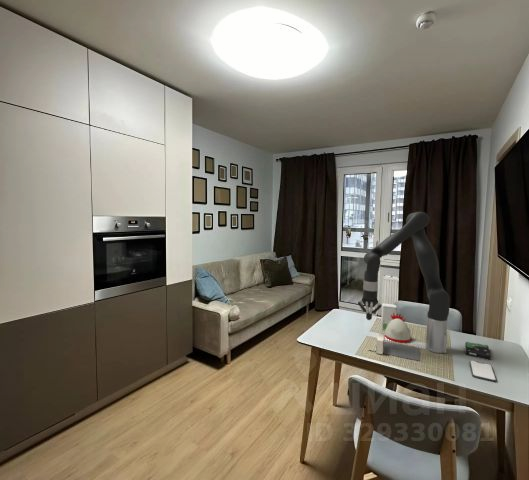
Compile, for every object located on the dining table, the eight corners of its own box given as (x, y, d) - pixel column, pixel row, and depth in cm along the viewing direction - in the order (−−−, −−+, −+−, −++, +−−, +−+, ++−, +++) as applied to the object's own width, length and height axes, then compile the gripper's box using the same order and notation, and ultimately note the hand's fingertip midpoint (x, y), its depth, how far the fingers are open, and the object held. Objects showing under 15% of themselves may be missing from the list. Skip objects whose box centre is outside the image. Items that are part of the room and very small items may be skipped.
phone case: (497, 384, 125) (491, 367, 139) (497, 381, 125) (491, 364, 139) (471, 378, 130) (468, 362, 143) (472, 375, 129) (469, 359, 143)
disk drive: (490, 361, 145) (487, 350, 158) (491, 356, 145) (488, 345, 158) (465, 356, 151) (464, 345, 163) (466, 350, 151) (465, 340, 163)
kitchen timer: (386, 331, 181) (387, 308, 180) (411, 336, 174) (412, 312, 173) (383, 339, 169) (384, 314, 168) (409, 345, 162) (410, 318, 161)
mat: (418, 348, 158) (418, 347, 158) (419, 361, 144) (419, 360, 144) (371, 339, 169) (371, 339, 169) (368, 350, 154) (368, 350, 154)
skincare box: (381, 329, 184) (382, 305, 183) (380, 326, 190) (381, 302, 189) (396, 331, 182) (397, 307, 180) (394, 327, 188) (395, 304, 187)
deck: (384, 334, 158) (383, 341, 149) (384, 346, 158) (382, 354, 150) (378, 333, 159) (376, 339, 150) (378, 345, 160) (376, 353, 151)
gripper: (384, 289, 160) (382, 319, 161) (359, 286, 166) (357, 315, 168) (382, 292, 154) (380, 324, 155) (356, 288, 160) (355, 319, 161)
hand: (368, 319), depth 161 cm, fingers closed
